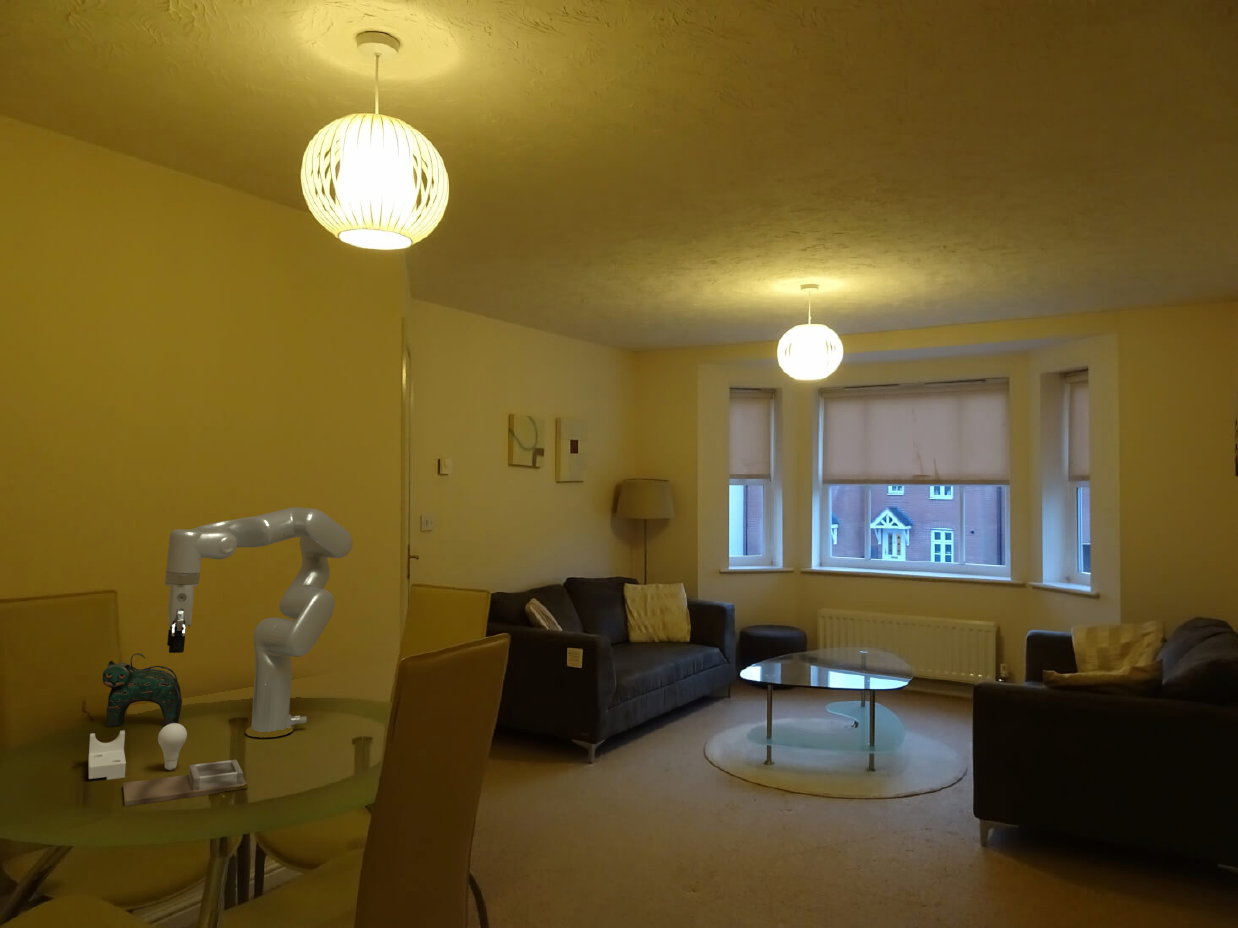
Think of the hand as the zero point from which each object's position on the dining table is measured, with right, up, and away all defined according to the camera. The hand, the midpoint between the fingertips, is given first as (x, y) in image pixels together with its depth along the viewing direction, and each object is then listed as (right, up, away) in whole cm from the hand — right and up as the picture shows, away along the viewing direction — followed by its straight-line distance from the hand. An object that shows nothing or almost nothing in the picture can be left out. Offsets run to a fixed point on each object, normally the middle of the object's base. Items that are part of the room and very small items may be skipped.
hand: (175, 649), depth 205 cm
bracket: (-11, -27, -9) cm, 31 cm away
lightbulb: (+2, -28, -7) cm, 29 cm away
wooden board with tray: (+12, -28, -17) cm, 35 cm away
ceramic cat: (-24, -27, +27) cm, 45 cm away
